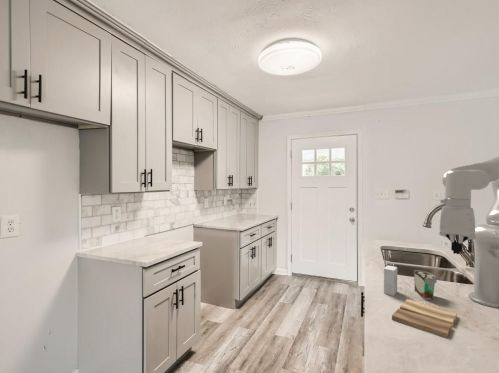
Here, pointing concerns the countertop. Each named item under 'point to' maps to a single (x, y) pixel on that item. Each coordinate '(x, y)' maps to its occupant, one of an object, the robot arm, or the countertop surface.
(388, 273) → the skincare box
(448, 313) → the oak plank
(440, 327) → the floor board
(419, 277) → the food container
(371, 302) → the countertop surface
